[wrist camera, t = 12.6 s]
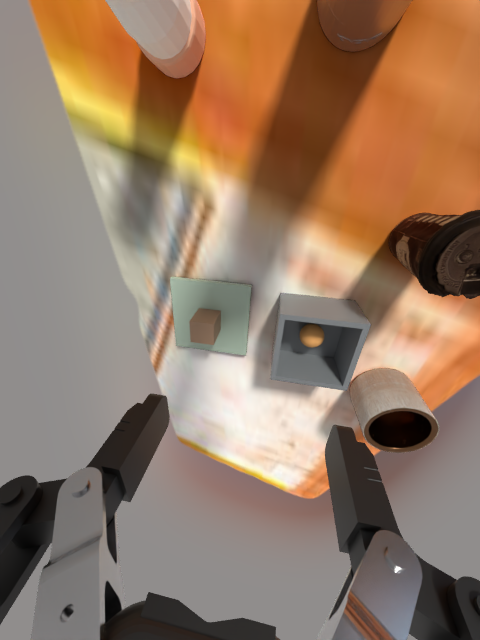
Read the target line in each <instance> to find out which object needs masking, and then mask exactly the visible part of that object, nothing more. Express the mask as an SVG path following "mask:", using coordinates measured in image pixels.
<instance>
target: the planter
mask: <svg viewBox="0 0 480 640" xmlns="http://www.w3.org/2000/svg"><path fill="white" fill-rule="evenodd" d="M350 397H351V400H352V403H353V406H354V409H355V412H356V415H357V418H358V421H359V424H360V427H361V430H362V433H363V436H364V438H365V440H366V441H367V442H368V443H369V444H370V445H372V446H373V447H375V448H377V449H380V450H383V451H387V452H395V453H402V452H411V451H415V450H418V449H421V448H423V447H425V446H427V445H428V444H430V443H431V442H432V441H433V440H434V439H435V438H436V437H437V435H438V433H439V424H438V422H437V420H436V418H435V417H434V415H433V414H432V412H431V411H430V409H429V408H428V406H427V405H426V403H425V402H424V400H423V399H422V397H421V395H420V394H419V392H418V391H417V389H416V387H415V386H414V384H413V383H412V381H411V380H410V379H409V378H408V377H407V376H406V375H405V374H404V373H402V372H400V371H398V370H394V369H389V368H378V369H373V370H369V371H367V372H364V373H362V374H361V375H359V376H358V377H357V378H356V379H355V380H354V381H353V382H352V384H351V386H350Z"/></svg>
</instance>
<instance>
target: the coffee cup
mask: <svg viewBox="0 0 480 640" xmlns="http://www.w3.org/2000/svg"><path fill="white" fill-rule="evenodd" d="M389 248H390V250H391V252H392V254H393V255H394V256H395V257H396V258H397V259H399V261H400V262H401V264H403V266H405V267H406V268H407V269H408V270H409V271H410V272H411V273H412V274H413V275H414V276H416V277H417V278H418V280H419V283H420V284H421V286H422V287H423V288H424V289H425V290H427V291H428V293H429V294H435V295H439V296H442V297H444V296H447V295H449V294H451V295H453V296H460V295H464V296H465V297H466V298H469V299H472V298H475V297H477V296H480V210H475V211H471V212H467V213H465V214H463V215H436V214H431V213H419V214H415V215H412V216H410V217H408V218H406V219H404V220H403V221H401V222H400V223H399V224H398V225H397V226H396V227H395V228H394V229H393V231H392V233H391V236H390V239H389Z"/></svg>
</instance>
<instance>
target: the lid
mask: <svg viewBox="0 0 480 640" xmlns="http://www.w3.org/2000/svg"><path fill="white" fill-rule="evenodd" d="M170 285H171V295H172V306H173V316H174V327H175V337H176V346H181V347H188V348H196V349H203V350H210V351H217V352H224V353H231V354H238V355H245V356H246V352H247V339H248V327H249V314H250V301H251V289H252V285H248V284H239V283H229V282H220V281H210V280H201V279H191V278H182V277H171V278H170Z"/></svg>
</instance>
